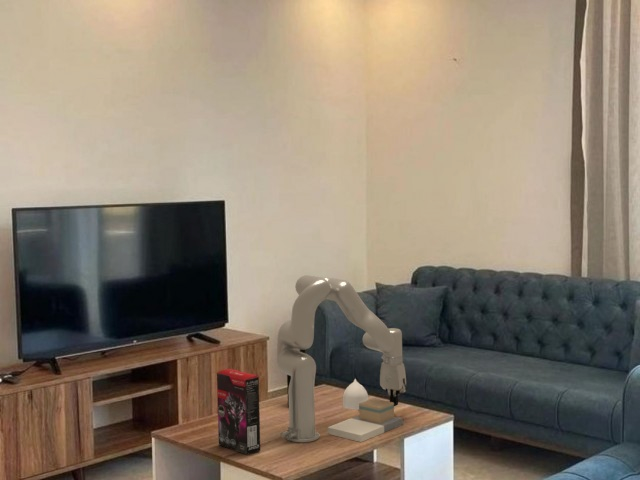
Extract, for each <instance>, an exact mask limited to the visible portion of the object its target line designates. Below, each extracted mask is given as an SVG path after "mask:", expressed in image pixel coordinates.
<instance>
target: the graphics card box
mask: <svg viewBox="0 0 640 480" xmlns="http://www.w3.org/2000/svg"><path fill="white" fill-rule="evenodd" d="M259 379H260V376H259V375H257V374H252V373H249V372H245V371H241V370H236V369H232V368H227V369H222V370H219V371H218V372H216V387H217V388H216V389H217V392H216V395H217V421H218V423H217V424H218V425H217V426H218V427H217V428H218V429H217V430H218V446H222V447H225V448H227V449H230V450H233V451H237V452H238V453H242V454H244V455H250V454H253V453H257V452H260V451H261V424H260V423H261V421H260V419H261V418H260V416H261V415H260V385H259V384H260V382H259V381H260V380H259Z"/></svg>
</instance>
